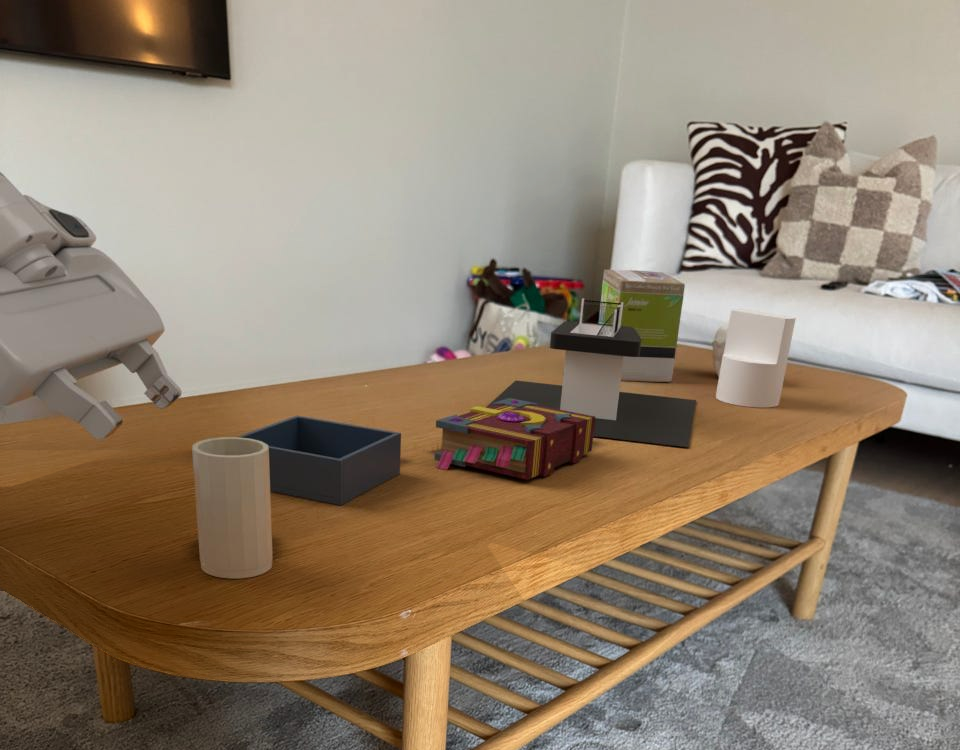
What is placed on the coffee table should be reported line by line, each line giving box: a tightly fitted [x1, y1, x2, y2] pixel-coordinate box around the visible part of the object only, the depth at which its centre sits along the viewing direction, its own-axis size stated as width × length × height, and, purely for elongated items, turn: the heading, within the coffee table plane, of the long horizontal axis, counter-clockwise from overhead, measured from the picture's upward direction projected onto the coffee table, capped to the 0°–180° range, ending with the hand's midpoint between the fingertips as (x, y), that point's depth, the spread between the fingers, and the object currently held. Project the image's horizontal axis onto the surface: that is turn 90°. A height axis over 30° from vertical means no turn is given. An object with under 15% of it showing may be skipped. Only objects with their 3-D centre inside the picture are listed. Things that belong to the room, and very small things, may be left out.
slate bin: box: [236, 415, 402, 506], centre depth 91 cm, size 12×12×4 cm
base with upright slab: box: [715, 308, 797, 409], centre depth 136 cm, size 9×9×12 cm
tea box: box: [598, 269, 686, 383], centre depth 150 cm, size 15×10×15 cm, turn 3°
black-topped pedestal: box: [486, 298, 697, 448], centre depth 123 cm, size 28×26×13 cm
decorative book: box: [434, 398, 595, 481], centre depth 101 cm, size 11×16×5 cm
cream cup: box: [191, 436, 274, 580], centre depth 69 cm, size 5×5×9 cm
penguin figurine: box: [711, 320, 729, 378], centre depth 152 cm, size 6×8×12 cm
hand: (144, 416), depth 68 cm, fingers open, 8 cm apart
